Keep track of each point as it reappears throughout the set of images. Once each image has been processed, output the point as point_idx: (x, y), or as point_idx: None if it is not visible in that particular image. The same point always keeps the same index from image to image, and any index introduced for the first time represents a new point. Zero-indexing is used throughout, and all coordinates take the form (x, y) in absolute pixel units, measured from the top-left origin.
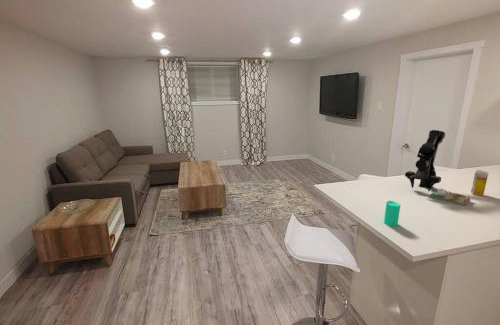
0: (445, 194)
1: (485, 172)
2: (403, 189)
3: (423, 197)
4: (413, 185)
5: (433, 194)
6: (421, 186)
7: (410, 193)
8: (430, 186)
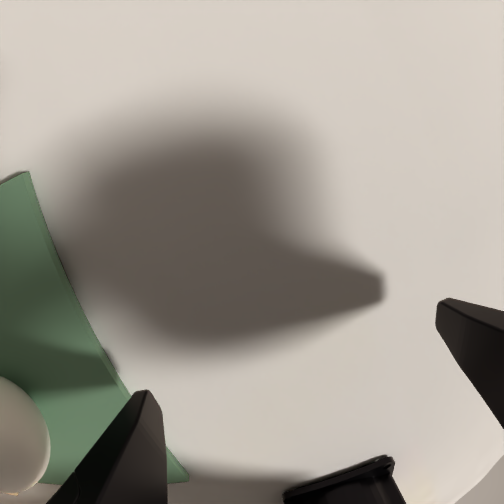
0: (58, 467)
1: None
2: (494, 184)
3: (54, 77)
4: (461, 351)
5: (76, 379)
6: (365, 469)
7: (345, 59)
8: (82, 488)
